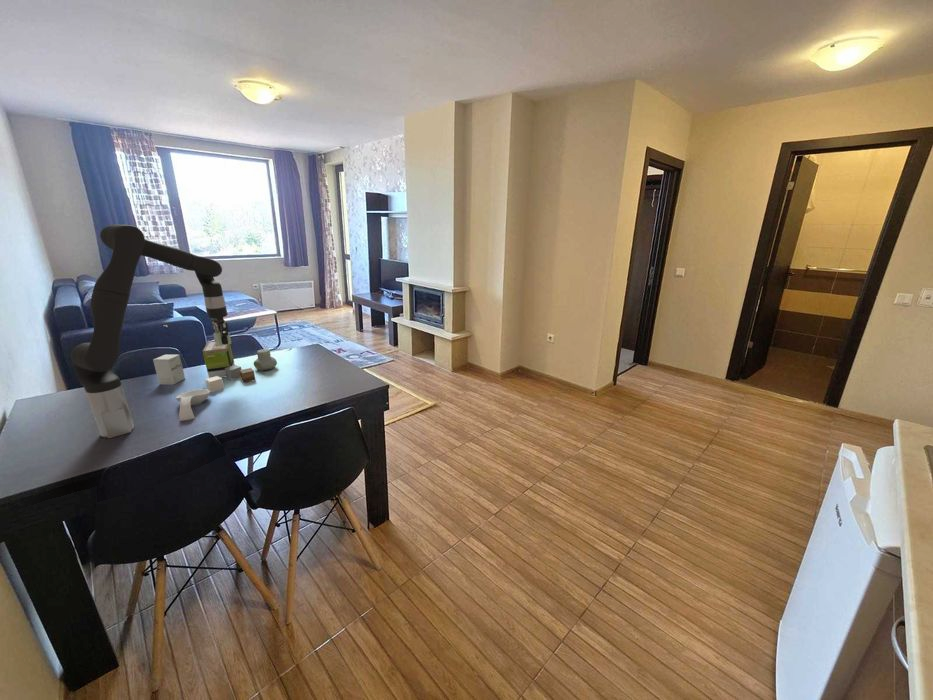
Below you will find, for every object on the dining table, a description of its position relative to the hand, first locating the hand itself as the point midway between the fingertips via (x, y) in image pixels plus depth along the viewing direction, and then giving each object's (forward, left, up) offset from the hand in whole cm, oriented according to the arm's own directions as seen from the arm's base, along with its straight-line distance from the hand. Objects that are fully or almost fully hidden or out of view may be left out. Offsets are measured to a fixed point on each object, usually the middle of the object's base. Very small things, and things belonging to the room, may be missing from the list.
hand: (223, 342), depth 172 cm
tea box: (+19, -2, -21) cm, 28 cm away
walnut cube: (-1, -7, -20) cm, 22 cm away
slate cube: (+8, -4, -20) cm, 22 cm away
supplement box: (+23, +18, -21) cm, 36 cm away
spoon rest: (-15, +19, -21) cm, 32 cm away
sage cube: (0, 0, 0) cm, 0 cm away
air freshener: (+8, -19, -21) cm, 29 cm away
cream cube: (-1, +7, -20) cm, 22 cm away
